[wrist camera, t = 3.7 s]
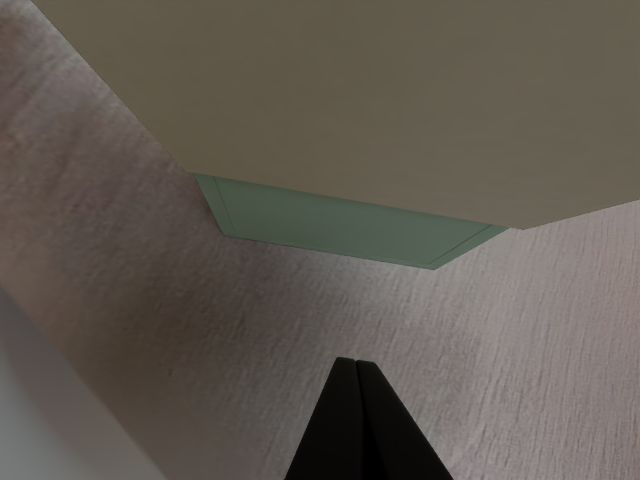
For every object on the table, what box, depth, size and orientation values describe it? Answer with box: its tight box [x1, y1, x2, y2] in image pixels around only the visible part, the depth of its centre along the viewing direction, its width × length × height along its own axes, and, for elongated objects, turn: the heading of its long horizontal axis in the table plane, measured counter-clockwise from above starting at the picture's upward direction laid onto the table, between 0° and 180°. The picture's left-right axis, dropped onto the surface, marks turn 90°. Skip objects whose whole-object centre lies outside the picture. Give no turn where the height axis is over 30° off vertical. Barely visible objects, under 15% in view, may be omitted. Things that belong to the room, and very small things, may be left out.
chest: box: [193, 173, 510, 270], centre depth 19 cm, size 11×13×8 cm
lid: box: [31, 0, 640, 230], centre depth 7 cm, size 11×13×1 cm
